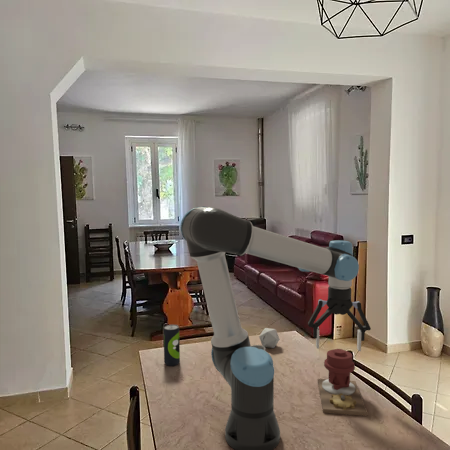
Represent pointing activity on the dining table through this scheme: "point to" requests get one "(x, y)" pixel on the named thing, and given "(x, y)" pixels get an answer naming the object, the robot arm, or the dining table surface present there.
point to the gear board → (341, 399)
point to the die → (269, 338)
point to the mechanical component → (339, 367)
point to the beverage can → (171, 345)
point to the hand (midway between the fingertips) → (338, 348)
